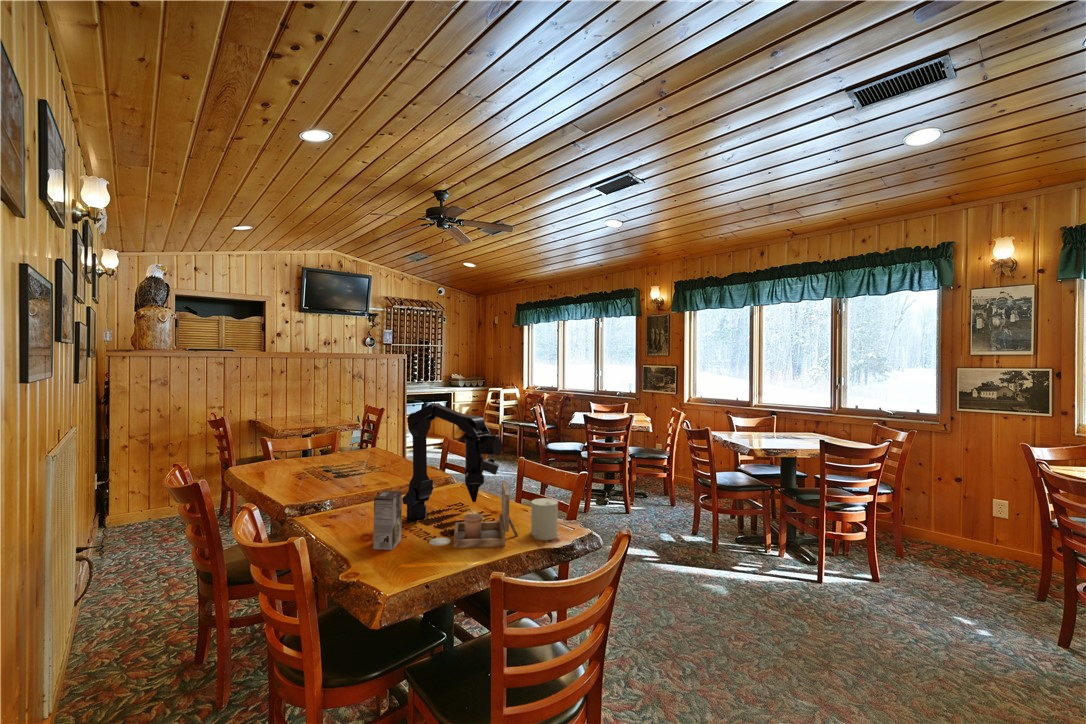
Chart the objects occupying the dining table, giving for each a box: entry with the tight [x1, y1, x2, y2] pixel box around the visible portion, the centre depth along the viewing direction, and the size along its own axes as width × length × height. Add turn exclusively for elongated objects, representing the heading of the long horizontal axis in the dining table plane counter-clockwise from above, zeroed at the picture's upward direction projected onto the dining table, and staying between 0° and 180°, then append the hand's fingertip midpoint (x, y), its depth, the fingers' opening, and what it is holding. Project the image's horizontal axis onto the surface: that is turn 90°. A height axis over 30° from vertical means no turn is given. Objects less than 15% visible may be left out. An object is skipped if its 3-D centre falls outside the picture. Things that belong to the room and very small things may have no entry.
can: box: [530, 497, 559, 541], centre depth 175 cm, size 9×9×12 cm
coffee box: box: [372, 490, 403, 551], centre depth 164 cm, size 9×6×16 cm
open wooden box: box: [453, 480, 519, 549], centre depth 170 cm, size 21×19×17 cm
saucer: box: [428, 537, 452, 547], centre depth 165 cm, size 7×7×1 cm
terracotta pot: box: [463, 512, 483, 539], centre depth 169 cm, size 6×6×7 cm
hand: (473, 498), depth 177 cm, fingers open, 9 cm apart
